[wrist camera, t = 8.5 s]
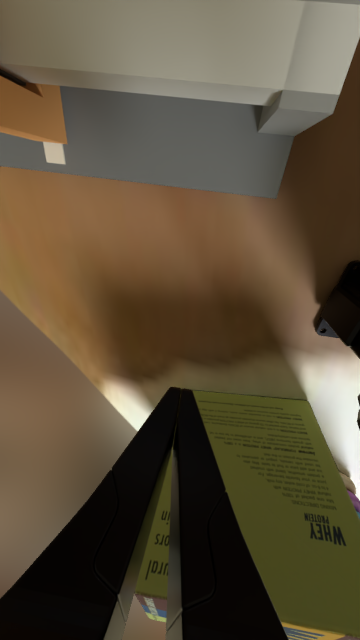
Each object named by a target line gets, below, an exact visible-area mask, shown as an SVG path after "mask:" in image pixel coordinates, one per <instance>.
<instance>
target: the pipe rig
mask: <svg viewBox="0 0 360 640" xmlns="http://www.w3.org/2000/svg"><path fill="white" fill-rule="evenodd" d="M359 38H360V0H0V76H2V77H4V78H6V79H8V80H10V81H12V82H14V83H16V84H17V85H21V86H26V82H28V83H38V84H48V85H58V86H60V93H61V101H62V108H63V115H64V123H65V130H66V137H67V144H60V143H51V142H42V141H34V140H30V139H26V138H22V137H18V136H14V135H10V134H6V133H2V132H0V166H5V167H13V168H22V169H30V170H38V171H47V172H55V173H64V174H72V175H80V176H89V177H97V178H106V179H114V180H122V181H131V182H139V183H148V184H156V185H164V186H173V187H181V188H190V189H198V190H206V191H215V192H223V193H232V194H240V195H248V196H257V197H265V198H274V199H276V198H277V194H278V191H279V187H280V184H281V181H282V177H283V174H284V170H285V167H286V163H287V160H288V157H289V153H290V150H291V146H292V143H293V140H294V136H296V135H297V134H299V133H301V132H302V131H304V130H306V129H308V128H309V127H311V126H313V125H314V124H316V123H318V122H320V121H321V120H323V119H325V118H326V117H328V116H330V115H331V114H333V112H334V109H335V106H336V104H337V101H338V98H339V95H340V92H341V89H342V86H343V84H344V81H345V78H346V75H347V72H348V69H349V66H350V64H351V61H352V58H353V55H354V52H355V49H356V46H357V44H358V41H359Z"/></svg>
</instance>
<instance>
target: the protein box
mask: <svg viewBox="0 0 360 640" xmlns="http://www.w3.org/2000/svg"><path fill="white" fill-rule="evenodd" d="M181 390H182V389H181ZM192 391H193V393H194V396H195V399H196V402H197V405H198V408H199V411H200V414H201V417H202V420H203V423H204V425H205V428H206V431H207V434H208V437H209V440H210V443H211V446H212V449H213V452H214V455H215V458H216V461H217V464H218V467H219V469H220V472H221V475H222V478H223V481H224V484H225V487H226V491H225V492H227V493H228V495H229V498H230V501H231V504H232V507H233V510H234V513H235V515H236V518H237V521H238V524H239V526H240V529H241V532H242V534H243V536H244V539H245V541H246V544H247V546H248V548H249V551H250V553H251V555H252V558H253V560H254V562H255V565H256V567H257V569H258V571H259V574H260V576H261V578H262V580H263V583H264V585H265V587H266V589H267V592H268V594H269V596H270V598H271V601H272V603H273V605H274V607H275V610H276V612H277V614H278V616H279V619H280V621H281V623H282V625H283V628H284V630H285V632H286V634H287V637H288V639H289V640H360V519H359V516H358V514H357V512H356V510H355V508H354V505H353V503H352V500H351V498H350V496H349V493H348V491H347V489H346V487H345V484H344V482H343V480H342V477H341V475H340V473H339V470H338V468H337V466H336V463H335V461H334V459H333V457H332V454H331V452H330V450H329V447H328V445H327V443H326V441H325V438H324V436H323V434H322V432H321V429H320V427H319V425H318V422H317V420H316V418H315V415H314V413H313V410H312V408H311V406H310V403H309V402H308V401H303V400H291V399H281V398H270V397H259V396H248V395H238V394H228V393H216V392H205V391H194V390H192ZM179 402H180V401H179ZM178 409H179V408H178ZM177 416H178V415H177ZM175 429H176V428H175ZM174 436H175V435H174ZM173 443H174V441H173ZM172 452H173V447H172ZM172 452H171V456H170V460H169V464H168V467H167V471H166V475H165V479H164V482H163V486H162V490H161V494H160V497H159V501H158V505H157V509H156V513H155V516H154V520H153V524H152V528H151V531H150V535H149V539H148V543H147V546H146V550H145V554H144V558H143V561H142V565H141V569H140V573H139V576H138V580H137V584H136V588H135V591H134V594H135V596H136V597H137V599H138V600H139V602H140V603H141V605H142V607H143V608H144V610H145V612H146V614H147V616H148V617H149V618H150V619H154V620H158V621H163V622H166V615H167V588H168V560H169V532H170V505H171V477H172Z"/></svg>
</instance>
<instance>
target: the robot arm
mask: <svg viewBox="0 0 360 640" xmlns="http://www.w3.org/2000/svg"><path fill="white" fill-rule="evenodd" d="M355 266H358V268H357V269H356V270H353V268H354V267H355ZM323 328H324V330H322V331H320V330H321V329H323ZM315 331H316V332H317V334H318V335H321V336H328V337H334V338H340V340H341V341H342V342H343V343H344V344H345V345H346V346H349V347H350V348H351V349H352V350H353V352H354V353H355V354H356V355H357V356H358V358H359V359H360V261H358V260H357V261H352V262H351V263H349V264H348V266H347V267H346V269H345V271H344V273H343V275H342V277H341V279H340V281H339V283H338V285H337V287H335V288H334V290H333V292H332V294H331V296H330V298H329V299H328V301H327V303H326V305H325V307H324V309H323V311H322V313H321V318H320V320H319V321H318V323H317V325H316V327H315ZM179 401H180V402H179ZM358 401H359V405H360V394H359V396H358ZM178 408H179V409H178ZM177 415H178V416H177ZM357 423H358V426H359V429H360V410H359V412H358V418H357ZM175 428H176V429H175ZM174 435H175V436H174ZM173 441H174V443H173ZM172 447H173V452H172ZM171 452H172V477H171V505H170V532H169V560H168V588H167V615H166V631H167V632H166V640H289V639H288V637H287V634H286V632H285V630H284V628H283V625H282V623H281V621H280V619H279V616H278V614H277V612H276V610H275V607H274V605H273V603H272V601H271V598H270V596H269V594H268V592H267V589H266V587H265V585H264V583H263V580H262V578H261V576H260V574H259V571H258V569H257V567H256V565H255V562H254V560H253V558H252V555H251V553H250V551H249V548H248V546H247V544H246V541H245V539H244V536H243V534H242V532H241V529H240V526H239V524H238V521H237V518H236V515H235V513H234V510H233V507H232V504H231V501H230V498H229V495H228V493H227V492H225V491H226V487H225V484H224V481H223V478H222V475H221V472H220V469H219V467H218V464H217V461H216V458H215V455H214V452H213V449H212V446H211V443H210V440H209V437H208V434H207V431H206V428H205V425H204V423H203V420H202V417H201V414H200V411H199V408H198V405H197V402H196V399H195V396H194V393H193V391H192V390H189V389H182V390H181V389H180V388H177V387H170V388H169V389H168V391H167V392H166V394H165V395H164V396H163V398H162V399H161V400H160V402H159V403H158V405H157V406H156V407H155V409H154V410H153V412H152V413H151V414H150V416H149V417H148V418H147V420H146V421H145V423H144V424H143V425H142V427H141V428H140V429H139V431H138V432H137V434H136V435H135V436H134V438H133V439H132V441H131V442H130V443H129V445H128V446H127V447H126V449H125V450H124V452H123V453H122V454H121V456H120V457H119V458H118V460H117V461H116V463H115V464H114V465H113V467H112V470H110V471H109V472H108V473H107V475H106V476H105V478H104V479H103V480H102V482H101V483H100V484H99V486H98V487H97V488H96V490H95V491H94V492H93V494H92V495H91V496H90V498H89V499H88V500H87V501H86V502H85V504H84V505H83V506H82V507H81V508H80V510H79V511H78V512H77V513H76V515H75V516H74V517H73V518H72V519H71V520H70V522H69V523H68V524H67V525H66V526H65V527H64V528H63V529H62V531H61V532H60V533H59V534H58V535H57V536H56V538H55V539H54V540H53V541H52V542H51V543H50V544H49V546H48V547H47V548H46V549H45V550H44V551H43V552H42V553H41V554H40V556H39V557H38V558H37V559H36V560H35V561H34V562H33V564H32V565H31V566H30V567H29V568H28V569H27V570H26V571H25V573H24V574H23V575H22V576H21V577H20V578H19V579H18V580H17V581H16V583H15V584H14V585H13V586H12V587H11V588H10V589H9V590H8V591H7V592H6V593H5V594H4V595H3V597H1V598H0V640H122V636H123V633H124V629H125V625H126V623H125V622H126V621H127V618H128V614H129V610H130V606H131V603H132V599H133V595H134V591H135V588H136V584H137V580H138V576H139V573H140V569H141V565H142V561H143V558H144V554H145V550H146V546H147V543H148V539H149V535H150V531H151V528H152V524H153V520H154V516H155V513H156V509H157V505H158V501H159V497H160V494H161V490H162V486H163V482H164V479H165V475H166V471H167V467H168V464H169V460H170V456H171Z"/></svg>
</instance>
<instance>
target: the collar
mask: <svg viewBox="0 0 360 640" xmlns="http://www.w3.org/2000/svg"><path fill="white" fill-rule="evenodd" d="M0 132H2V133H6V134H10V135H14V136H18V137H22V138H26V139H30V140H34V141H42V142H51V143H60V144H67V137H66V130H65V123H64V115H63V108H62V101H61V93H60V86H58V85H48V84H38V83H28V82H26V86H21V85H17V84H16V83H14V82H12V81H10V80H8V79H6V78H4V77H2V76H0Z"/></svg>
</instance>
